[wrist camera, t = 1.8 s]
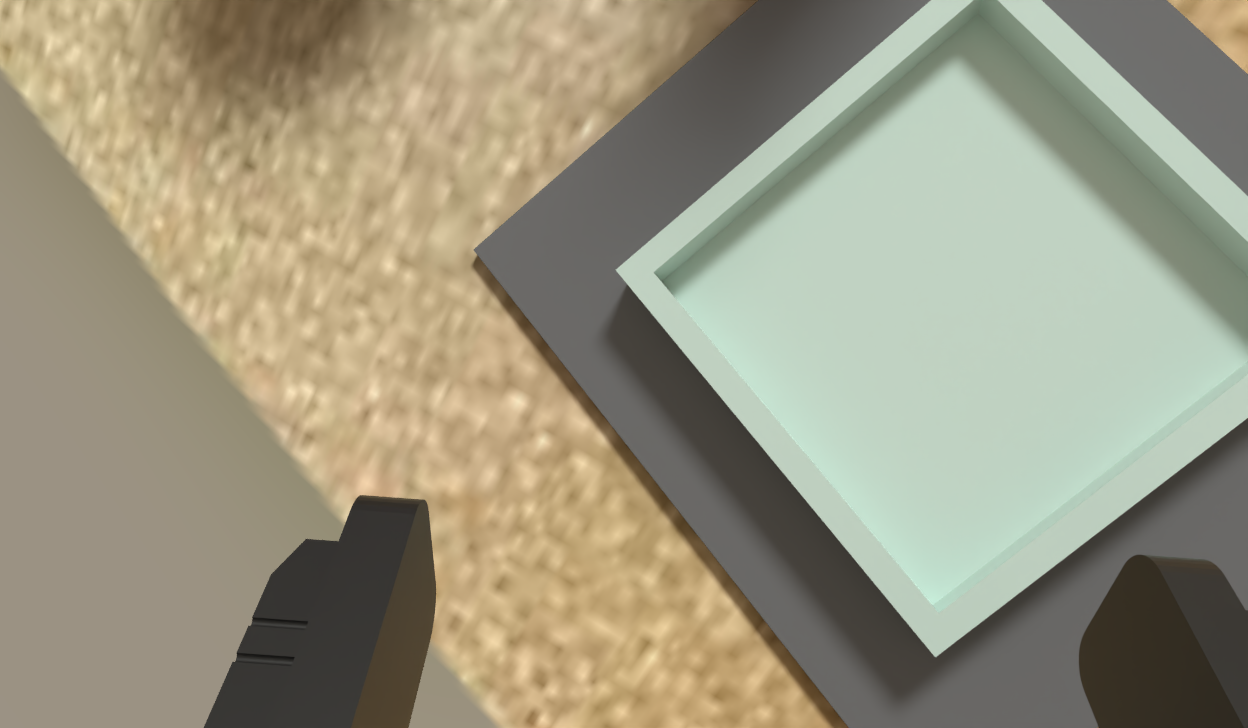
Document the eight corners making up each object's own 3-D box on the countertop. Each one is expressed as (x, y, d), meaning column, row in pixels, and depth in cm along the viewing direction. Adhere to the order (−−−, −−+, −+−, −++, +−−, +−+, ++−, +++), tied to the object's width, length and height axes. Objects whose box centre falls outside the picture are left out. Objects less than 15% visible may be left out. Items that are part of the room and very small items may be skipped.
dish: (978, -17, 27) (989, -50, 26) (1337, 329, 24) (1377, 318, 23) (628, 281, 29) (615, 270, 27) (927, 644, 26) (935, 657, 24)
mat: (965, -174, 28) (967, -182, 28) (1562, 374, 24) (1574, 373, 23) (478, 252, 30) (473, 249, 30) (938, 838, 25) (940, 844, 25)
